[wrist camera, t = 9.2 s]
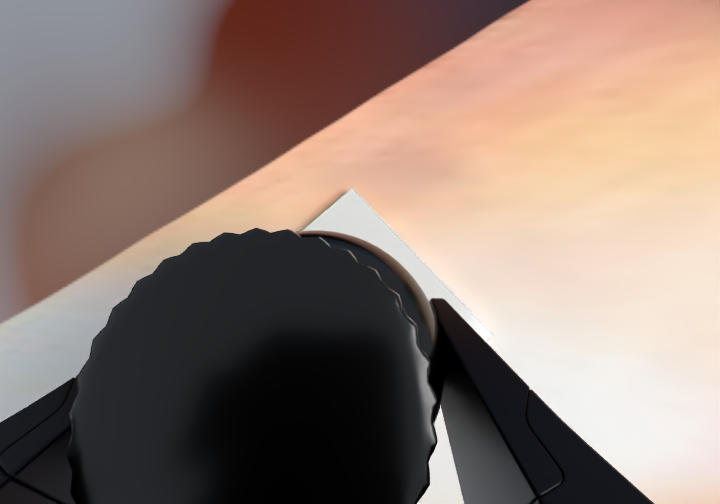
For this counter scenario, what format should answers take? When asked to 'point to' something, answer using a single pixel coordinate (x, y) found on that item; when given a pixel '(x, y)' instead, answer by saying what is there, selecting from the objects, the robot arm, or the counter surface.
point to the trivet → (390, 249)
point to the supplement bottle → (262, 379)
